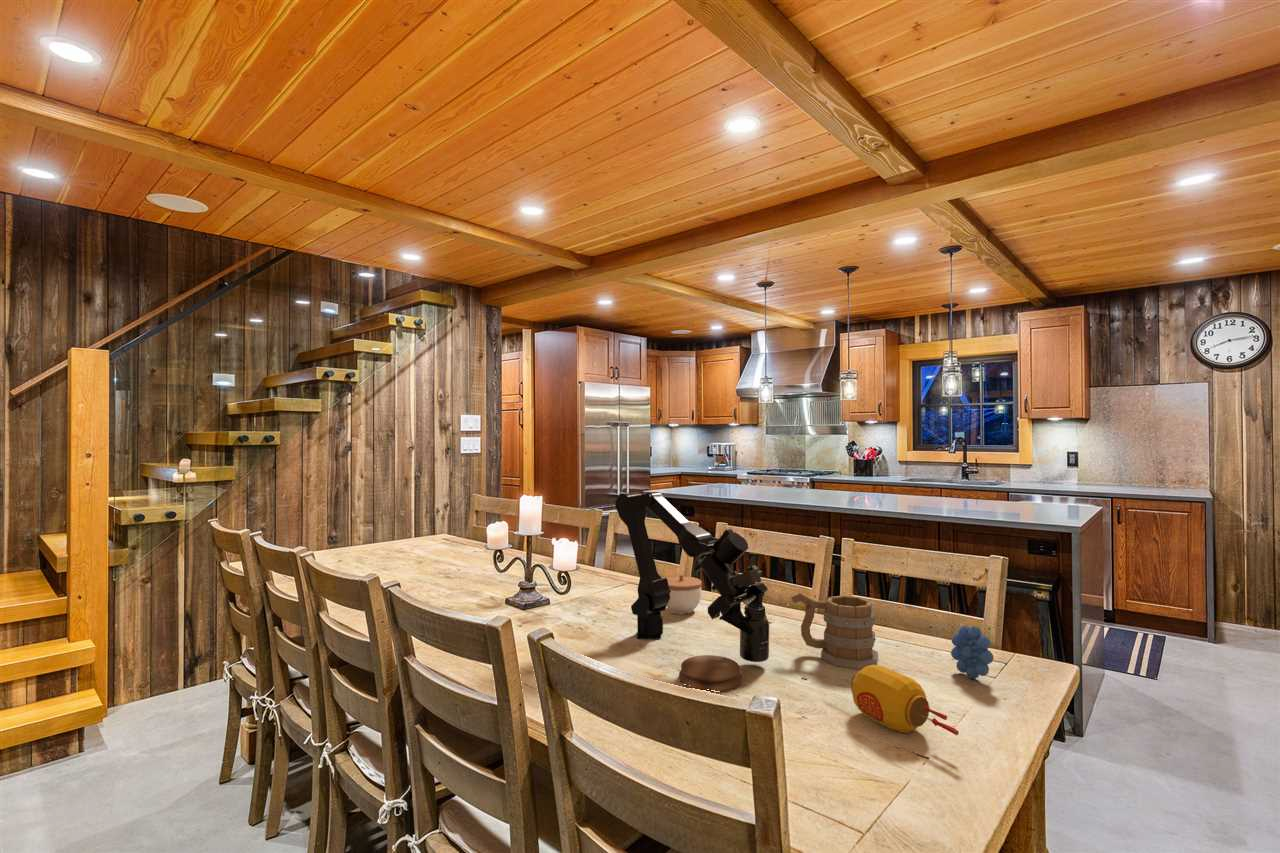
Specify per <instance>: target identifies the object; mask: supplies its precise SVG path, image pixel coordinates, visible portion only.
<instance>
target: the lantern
mask: <svg viewBox="0 0 1280 853" xmlns="http://www.w3.org/2000/svg"><path fill="white" fill-rule="evenodd" d="M829 671H830V672H832V673H835V674H837V675H839V676H842V677H843V678H846V679H847V680H850V681H851V683H850V689H851V693H852V694H851V695H852V699H853V703H854V705H855V706H856V707H857V709H858V710H859V711H860V712H861V713H862V715H863V716H865V717H868V718H870V719H872V720H873V721H874V722H876V723H879V724H880V725H882V726H884V727H886V728H888V729H890V730H893V731H896V732H898V731H899V733H903V734H905V733H910V732H912V731H915V730H917V729H918V728H919V727H921V726H923V725H924V724H925V723H926V721H927V720H928V721H929V722H931V723H932V724H933V725H934V727H937V726H939V728H942V729H944V730H946V731H948V732H949V733H951V734H953V735H955V736H958V735H959V734H960V732H959V730H958V729H956V728H955V727H953V726H951V725H947V724H945V723H942V722H941V721H938V720H937V718H929V714H930V713H931V714H933V715H935V716H937V717H939V718H940V719H942V720H943V721H946V720H947V719H948V716H947V714H943V713H941V712H938V711H936V710H933V709H931V708H930V703H929V701H928V700H927V699H928V698H927V696H926V693H925V690H924V689H923V687H922V686H921V684H920V683H918V681H916V680H915V679H914V678H911V677H909V676H906V675H904V674H903V673H900V672H897V671H895V670H892V669H889V668H888V667H885V666H883V665H879V664H877V665H870V666H866V667H864V668H863V669H859V671H857V672H856V673H855V674H854V675H853V677H852V678H850V677H848V676H846V675H844V674H843V673H840V672H838V671H836V670H833V669H832V668H830V669H829Z"/></svg>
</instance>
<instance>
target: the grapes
mask: <svg viewBox="0 0 1280 853" xmlns="http://www.w3.org/2000/svg"><path fill="white" fill-rule="evenodd" d="M951 643H952V644H953V648H952V649H951V651H950V655H951V658H953V660H955V661H957V662H956V669H957V671H959V672H960V673H963V674H966V676H967V677H968V678H969V679H971V678H972V679H971V680H976V679H977V678H979V676H980V677H985V676H987V675H988V674H989V672H990V666H989V665H990V664H991V663H993V661H994V655H993V652H991V651H990V650H989V648H991V647H990V646H991V640H990V639H989V637H988V636H986V635H983V634H982V630H981V628H980V627H978V626H976V625H972V626H970V627H969V626H968V625H965V624H964V625H961V626H959V628H958V632H957V633H955V634H953V635H952V637H951Z"/></svg>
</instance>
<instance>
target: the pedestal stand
mask: <svg viewBox="0 0 1280 853" xmlns="http://www.w3.org/2000/svg"><path fill="white" fill-rule="evenodd" d="M740 670H741V669H740V665H739V663H738V662H736V661H735V660H733V659H732V658H728V657H725V656H721V655H713V654H710V655H709V654H706V655H705V654H702V655H696V656H691V657H688V658H686V659H684V660H683V661H682V662H681V665H680V671H679V673H678V680H680V681H679V683H680V684H681V683H683V684H686V685H683V687H686V688H687V687H689V688H695V689H700V690H706V691H710V692H714V691H711V690H715V691H720V693H726V691H727V692H730V691H733V690H736V689H737V687H738V686H739V687H740V686H741V685H742V683H743V676H742V673H741V671H740ZM689 685H690V686H689ZM739 687H738V688H739ZM689 688H688V689H689ZM707 689H709V690H707ZM717 693H719V692H716V693H715V694H717Z"/></svg>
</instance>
